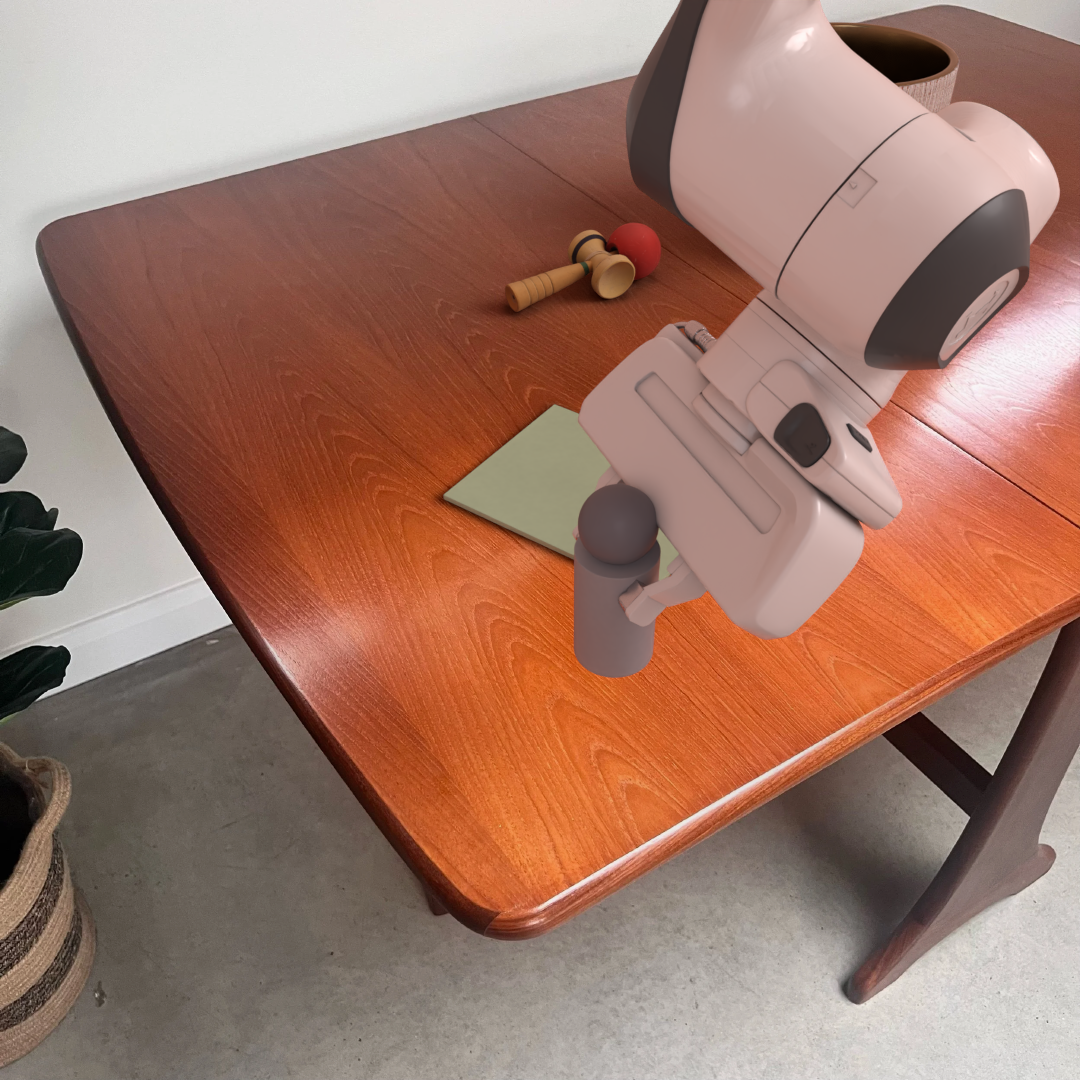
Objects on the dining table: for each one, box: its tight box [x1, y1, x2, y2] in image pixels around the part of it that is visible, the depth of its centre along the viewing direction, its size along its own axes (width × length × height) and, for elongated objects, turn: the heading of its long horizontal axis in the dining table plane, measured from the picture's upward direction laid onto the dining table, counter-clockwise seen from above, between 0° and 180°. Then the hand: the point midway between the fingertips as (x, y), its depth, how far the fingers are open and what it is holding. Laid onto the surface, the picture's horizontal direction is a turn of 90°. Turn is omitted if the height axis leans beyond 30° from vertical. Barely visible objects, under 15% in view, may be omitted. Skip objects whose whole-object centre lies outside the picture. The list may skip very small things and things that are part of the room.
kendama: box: [504, 222, 662, 313], centre depth 111 cm, size 8×6×18 cm
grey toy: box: [573, 484, 661, 679], centre depth 59 cm, size 5×5×12 cm
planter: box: [829, 21, 960, 114], centre depth 115 cm, size 22×22×20 cm
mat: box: [443, 403, 679, 581], centre depth 86 cm, size 20×16×1 cm
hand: (606, 580), depth 59 cm, fingers closed on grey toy, 5 cm apart
